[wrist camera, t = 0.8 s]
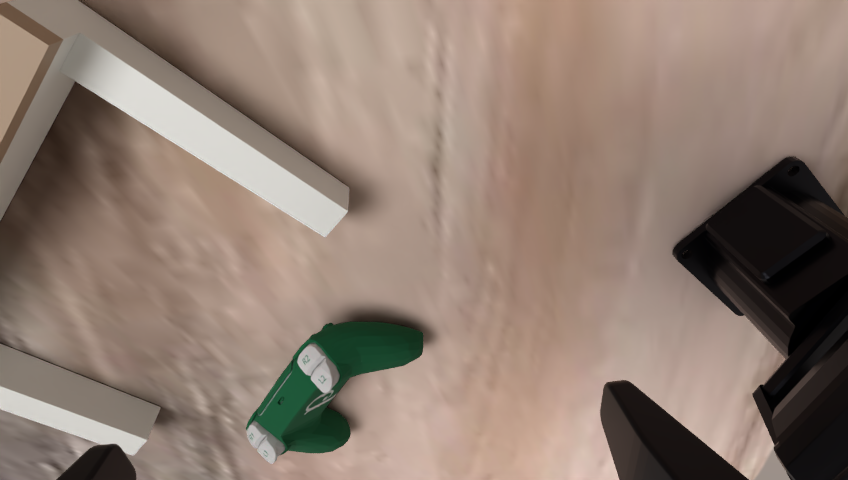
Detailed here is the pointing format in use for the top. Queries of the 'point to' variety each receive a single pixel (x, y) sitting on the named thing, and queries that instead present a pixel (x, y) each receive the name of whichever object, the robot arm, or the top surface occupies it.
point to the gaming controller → (325, 385)
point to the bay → (162, 112)
